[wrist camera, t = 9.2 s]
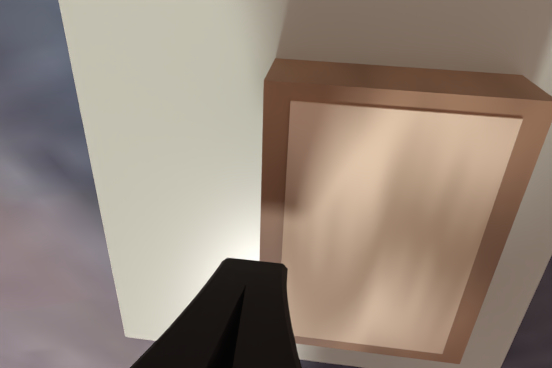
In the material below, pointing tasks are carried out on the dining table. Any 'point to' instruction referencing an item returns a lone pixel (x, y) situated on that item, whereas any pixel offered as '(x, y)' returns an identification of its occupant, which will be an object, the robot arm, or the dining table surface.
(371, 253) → the walnut slab
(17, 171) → the dining table surface
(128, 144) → the mat
